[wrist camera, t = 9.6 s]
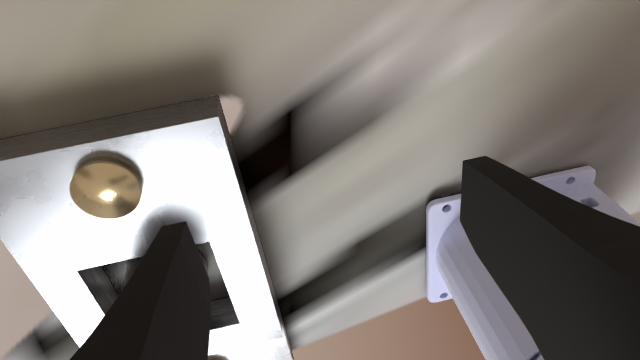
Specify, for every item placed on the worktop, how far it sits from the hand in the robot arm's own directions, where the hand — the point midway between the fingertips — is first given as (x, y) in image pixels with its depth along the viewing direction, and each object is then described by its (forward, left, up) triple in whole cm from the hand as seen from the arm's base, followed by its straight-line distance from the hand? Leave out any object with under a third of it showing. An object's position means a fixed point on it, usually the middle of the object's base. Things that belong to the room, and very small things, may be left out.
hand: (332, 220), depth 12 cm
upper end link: (+8, +7, -9) cm, 14 cm away
